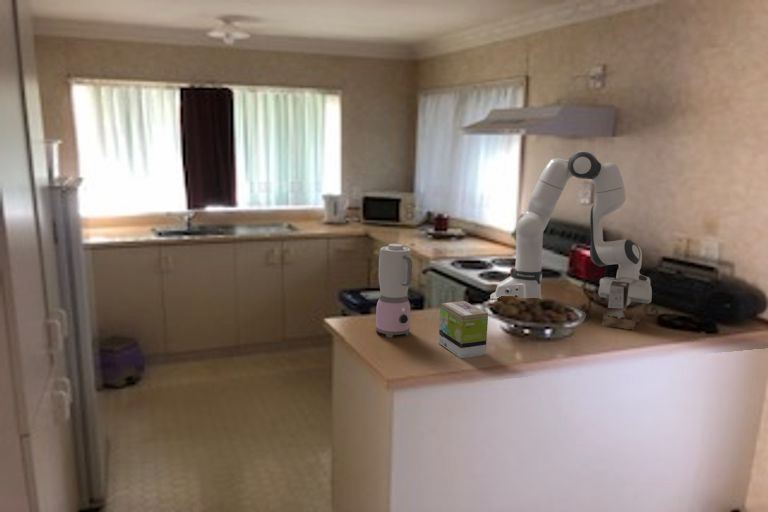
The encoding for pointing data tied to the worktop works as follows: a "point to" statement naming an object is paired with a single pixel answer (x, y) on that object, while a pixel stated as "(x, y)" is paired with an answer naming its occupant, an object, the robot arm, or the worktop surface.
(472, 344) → the tea box
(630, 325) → the wooden tray
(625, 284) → the coffee box
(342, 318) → the worktop surface
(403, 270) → the blender
